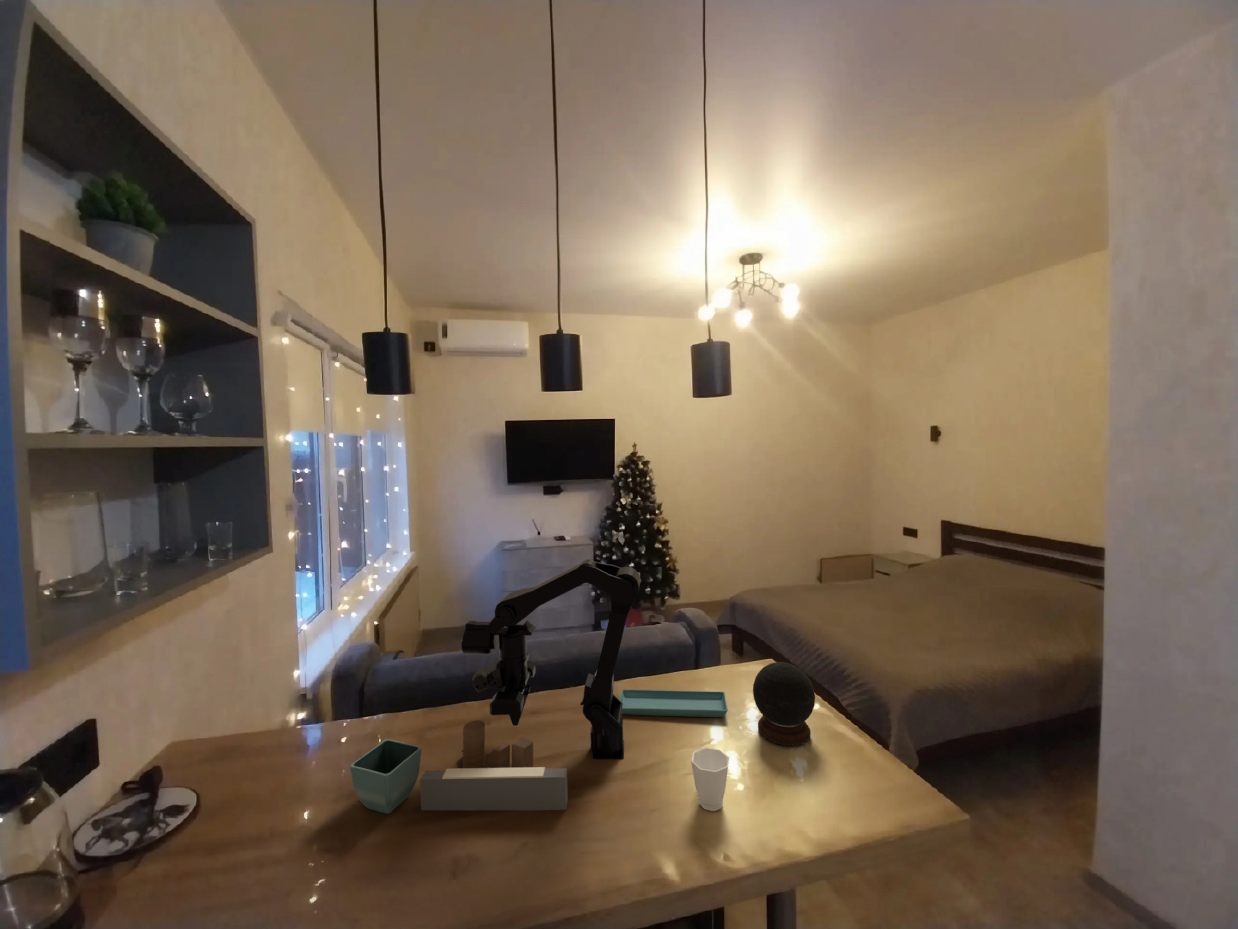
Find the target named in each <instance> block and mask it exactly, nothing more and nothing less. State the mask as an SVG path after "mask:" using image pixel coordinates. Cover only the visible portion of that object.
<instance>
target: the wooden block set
mask: <svg viewBox="0 0 1238 929" xmlns="http://www.w3.org/2000/svg"><path fill="white" fill-rule="evenodd" d="M485 726H486V724H485V722H484V721H482V720H472V721H469V722H467V723H465V724H464V726H463V728H462V730H463V731H462V736H463V737H462V750H461V753H462V768H486V767H485V759H486V758H485V756H486V753H485V750H486V749H485V748H486V747H485V745H486V744H485V742H486V741H485V740H486V739H485V738H486V737H485V736H486V734H485V733H486V732H485V731H486V728H485ZM523 767H534V741H533V740H531V739H526V738H524V737H521V738H519V739H517V740H516V741H514V742H513V743H512V744H510V743H507V742H505V741H504V742H502V743H500V744H499V745H497V746H496V747H494V748H493V749H492V750H491V751H490V752H489V753H488V755H487V768H523Z"/></svg>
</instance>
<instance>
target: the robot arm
mask: <svg viewBox="0 0 1238 929" xmlns="http://www.w3.org/2000/svg"><path fill="white" fill-rule="evenodd" d="M638 572H639V571H637V570H636V569H635V568H633V567H631V566H622V567H620V566H617V565H614V564H609V563H603V562H598V561H595V560H593V559H584V560H583V561H582V562H580V563H579V564H577V565H575V566H573V567H571V568H570V569H567V570H565V571H563V572H561V573H560V574H558V575H556V576H554V577H551V578H550V579H547V580H545V581H544V582H541V583H540V584H537V585H536V586H533V587H528V588H522V589H519V590H515V591H512V592H509V593H508V594H506V595H505V596H504V598H502V599H501V600H500V601H499V602H498V603H497V604H496V606H495V609H494V617H493V618H492V619H491V620H490V621H476V620H468V621H467V622H466V624H465V625H464V627H465V630H464V632H463V635H462V641H461V651H462V653H463V654H464V655H492V654H493V652H494V650H497V649H498V647H499V650H498V651H499V659H498V662H495V663H491V664H488V665H486V666H484V667H481V668H479V669H477V670H476V671H475V673H474V674H473V676H472V677H471V682H472V685H471V687H472V689H474V690H475V691H476V692H478V693H481V692H483V691H484V690H486V689H490V688H492V687H494V686H495V688H496V689H502V690H501V691H497V692H496V693H495V694H494V695H493V696H492V699H491V701H490V702H489V715H491V716H509V718H510V720H511V724H512V726H514V727H515V726H519V723H520V720H521V717H522V713H523V710H524V708H525V706H526V702H527V699H528V696H529V693H530V690H531V688H532V686H531V684H527V683H528V681H529V678H534V677H535V675H536V664H535V663H534V662H533V661H532V660H529V657H530V655H529V652H528V651H527V650H528V649H527V636H532V635H533V633H534V632H535V630H536V629H537V628H536V626H535V625H533V624H532V623H530V621H529V620H527V619H526V621H525V622H523V623H520V622H521V621H524V619H525V618H527V617H528V616H529V615H531V614H532V613H533V612H534V611H535V610H536V609H537V608H539V607H540V606H543V605H544V604H547V603H549V602H550V601H552V600H555V599H556V598H558V597H561V596H562V595H564V594H567V593H568V592H570V591H572V590H574V589H575V588H576V589H577V588H579V587H580V586H582V585H584V584H589V585H591V586H593V587H595V588H597V589H598V590H600V591H603V592H605V593H608V594H610V599H609V600H610V602H609V603H610V604H609V606H610V608H609V610H610V612H609V617H608V621H607V626H606V631H605V635H604V638H603V639H604V640H603V643H602V647H601V652H600V656H599V661H598V665H597V669H596V671H595V673H594V675H593V674H592V673H589V672H588V673H587V677H586V681H585V684H584V686H583V687H584V689H583V690H584V691H583V693H582V694H583V695H582V696H581V701H580V703H579V705H580V706H582V715H584V717H585V719H586V720H588V721H589V722H590V725H591V726H590V733H589V734H590V736H589V738H590V752H591V753H592V759H593V760H597V761H598V760H624V759H625V739H624V719H623V717H622V715H623V714H622V707H623V703H622V702H621V701H620V700H619V699H620V698H618V697H617V696H616V695H615V694H614V673H615V670H616V665H617V661H618V657H619V652H620V648H621V643H622V640H623V634H624V630H625V628H626V627H625V626H626V622H627V618H628V617H629V613H630V612H631V610H632V608H633V606H634V604H635V601H636V599H637V597H638V594H639V592H640V584H641V575H640V574H639V573H638Z"/></svg>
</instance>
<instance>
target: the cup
mask: <svg viewBox="0 0 1238 929" xmlns="http://www.w3.org/2000/svg"><path fill="white" fill-rule="evenodd" d="M729 761H730V756H728V755H727V754H726V753H724V752H723V751H722V750H721V749H716V748H711V747H710V748H709V747H700V749H697V750H695V751H693V752H692V755H691V761H690V763H691V770H692V773H693V779H694V786H695V791H696V793H697V797H698V798H699V799H698V804H699V805H700V806H701V807H702V809H704V810H706V811H710V812H716V811H718V810H720V809H722V808H723V804H724V795H725V791H726V786H727V777H728V770H729V763H730V762H729Z"/></svg>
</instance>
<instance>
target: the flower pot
mask: <svg viewBox="0 0 1238 929" xmlns="http://www.w3.org/2000/svg"><path fill="white" fill-rule="evenodd" d="M422 749H423V748H422V745H421V746H420V745H416V744H412V743H408V742H403V741H398V740H394V739H390V738H386V739H384V740H383V741H381V742H380V743H379V744H377V745H375V747H373V748H372V749H370V750H369V751H368V752H366V753H365V754H363V755H362V756H360V757H359V758H358V759H356V760H355V761H354V762H352V763H351V764H350V765H349V768H350V774H351V780H352V786H353V788H354V792H355V794H356V796H357V799H358V800H359V801H360V802H361V803H362V804H363V805H364V807H366V808H367V809H369V810H373V811H375V812H379V813H382V814H386V815H387V814H390V813H392V812H393V811H394V810H395V809H396V808H397V807H399V805H400V804H402V803H403V802H404V801H405V800H406V799H407V798H408V797H409V796H410V794H411V793H412V791H413V789H414V787H415V785H416V783H417V780H418V778H419V773H420V767H421V757H422Z"/></svg>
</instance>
